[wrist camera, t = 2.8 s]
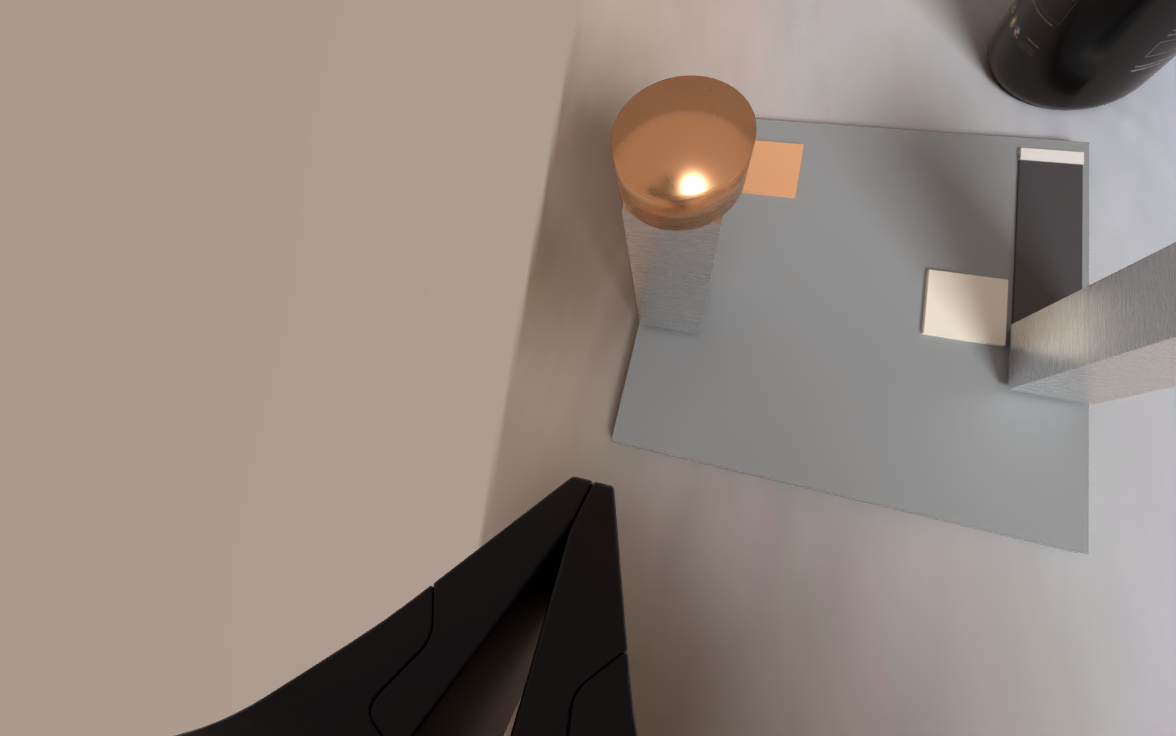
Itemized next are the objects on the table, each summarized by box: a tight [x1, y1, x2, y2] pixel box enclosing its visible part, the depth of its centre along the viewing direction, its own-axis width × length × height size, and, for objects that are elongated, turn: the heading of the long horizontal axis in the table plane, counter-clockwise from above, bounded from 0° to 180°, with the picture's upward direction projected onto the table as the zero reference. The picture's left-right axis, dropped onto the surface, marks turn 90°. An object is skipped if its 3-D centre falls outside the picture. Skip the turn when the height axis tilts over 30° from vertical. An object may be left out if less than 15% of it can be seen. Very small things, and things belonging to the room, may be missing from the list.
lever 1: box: [611, 76, 757, 335], centre depth 17 cm, size 4×4×11 cm
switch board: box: [611, 119, 1089, 554], centre depth 21 cm, size 18×18×1 cm
